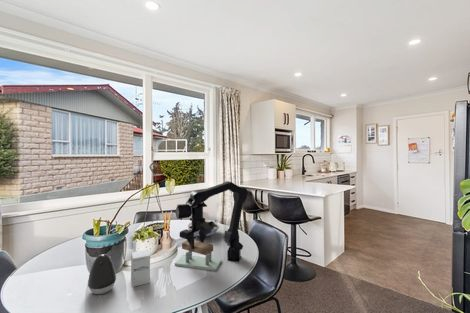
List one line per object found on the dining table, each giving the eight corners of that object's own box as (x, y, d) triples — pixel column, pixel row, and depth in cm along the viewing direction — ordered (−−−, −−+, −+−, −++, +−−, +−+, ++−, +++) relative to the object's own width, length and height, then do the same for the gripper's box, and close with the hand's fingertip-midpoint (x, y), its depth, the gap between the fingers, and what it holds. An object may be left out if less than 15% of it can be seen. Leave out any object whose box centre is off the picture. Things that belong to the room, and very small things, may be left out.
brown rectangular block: (182, 248, 118) (182, 242, 118) (189, 244, 123) (189, 238, 123) (206, 255, 111) (205, 249, 111) (213, 250, 116) (213, 244, 116)
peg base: (221, 261, 124) (221, 250, 124) (215, 270, 115) (215, 258, 115) (183, 256, 129) (183, 246, 129) (174, 265, 120) (174, 253, 120)
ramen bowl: (193, 228, 177) (193, 217, 177) (223, 230, 174) (223, 219, 173) (181, 241, 152) (181, 228, 152) (215, 243, 149) (215, 230, 149)
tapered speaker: (85, 301, 91) (85, 262, 91) (90, 286, 100) (90, 251, 100) (115, 294, 95) (115, 258, 95) (116, 281, 105) (116, 248, 104)
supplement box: (132, 287, 100) (132, 258, 100) (130, 279, 107) (130, 251, 106) (150, 283, 103) (150, 255, 103) (148, 275, 110) (148, 248, 110)
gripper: (195, 224, 104) (195, 258, 105) (221, 214, 120) (221, 244, 120) (178, 219, 111) (178, 252, 111) (205, 211, 126) (205, 239, 126)
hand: (197, 246), depth 117 cm, fingers closed on brown rectangular block, 6 cm apart
